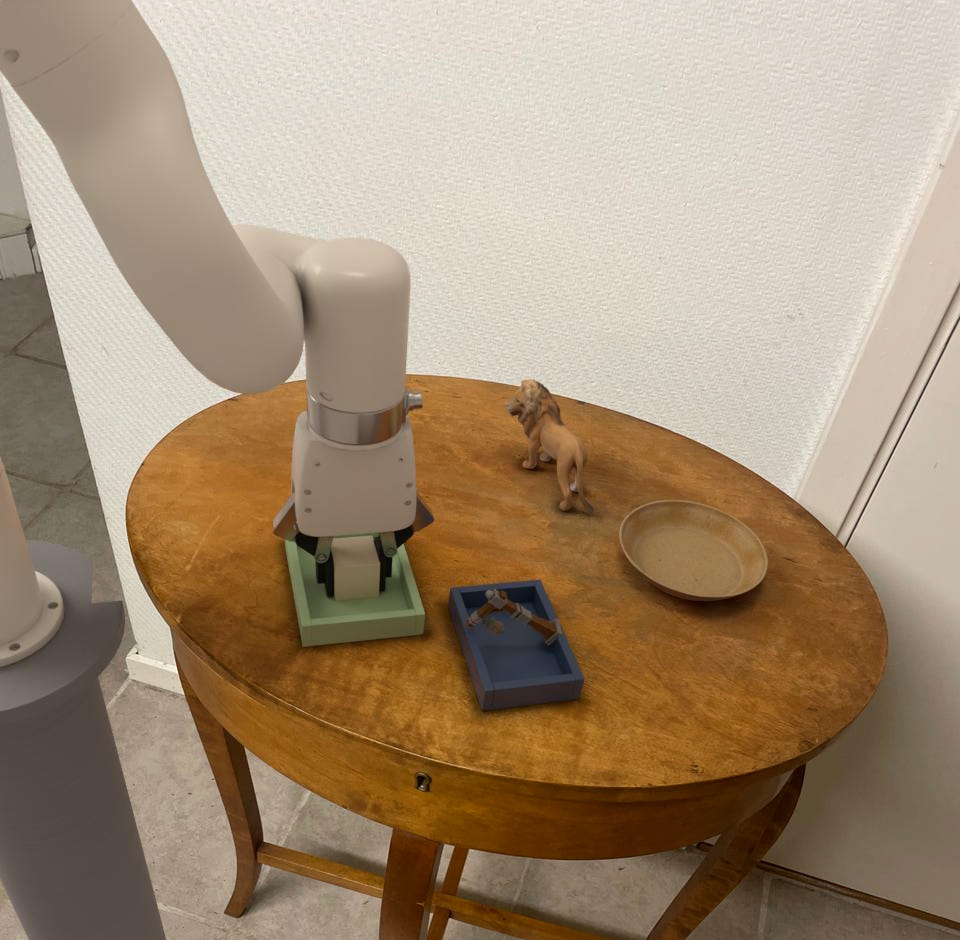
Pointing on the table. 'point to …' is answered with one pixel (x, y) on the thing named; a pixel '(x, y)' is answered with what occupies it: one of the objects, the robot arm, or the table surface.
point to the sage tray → (354, 603)
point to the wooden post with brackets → (521, 614)
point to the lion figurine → (550, 437)
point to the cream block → (355, 568)
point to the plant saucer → (693, 550)
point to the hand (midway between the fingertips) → (353, 582)
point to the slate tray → (514, 649)
